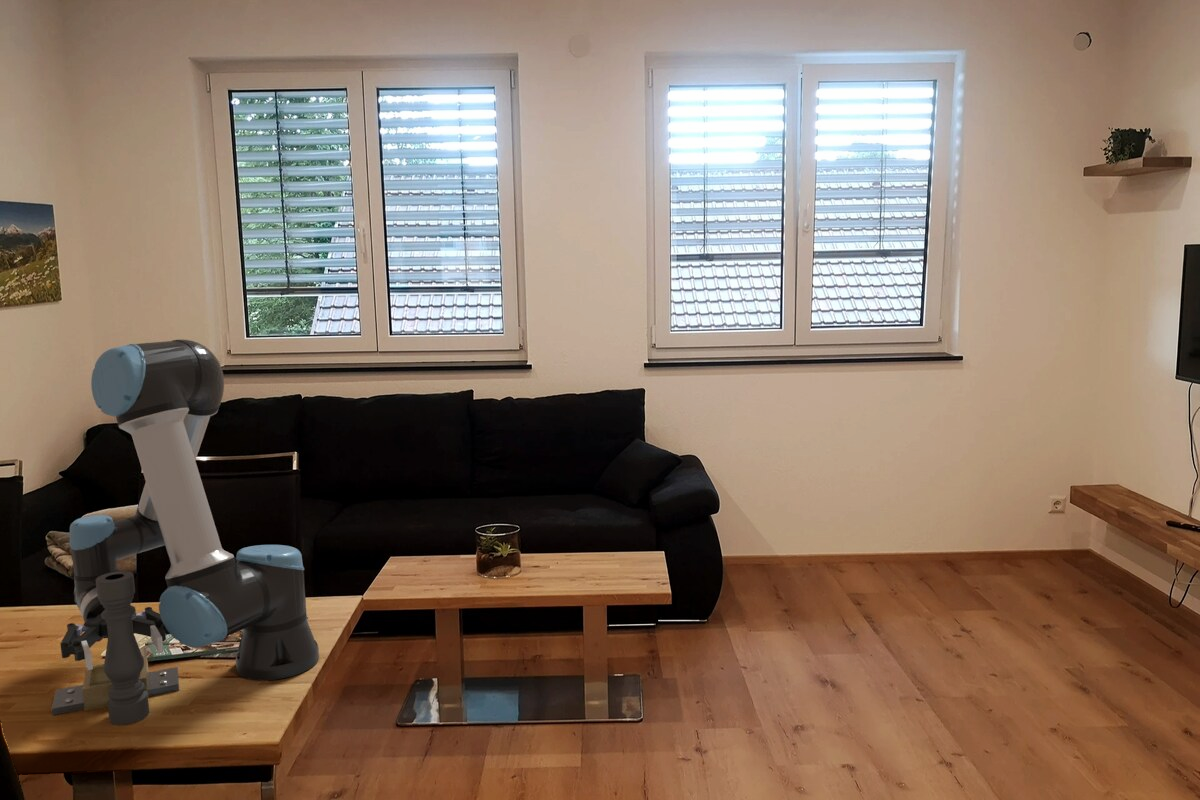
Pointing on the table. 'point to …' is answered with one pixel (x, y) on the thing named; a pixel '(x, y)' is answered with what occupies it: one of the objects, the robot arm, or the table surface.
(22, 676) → the table surface
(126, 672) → the candle holder
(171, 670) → the square socket fixture
